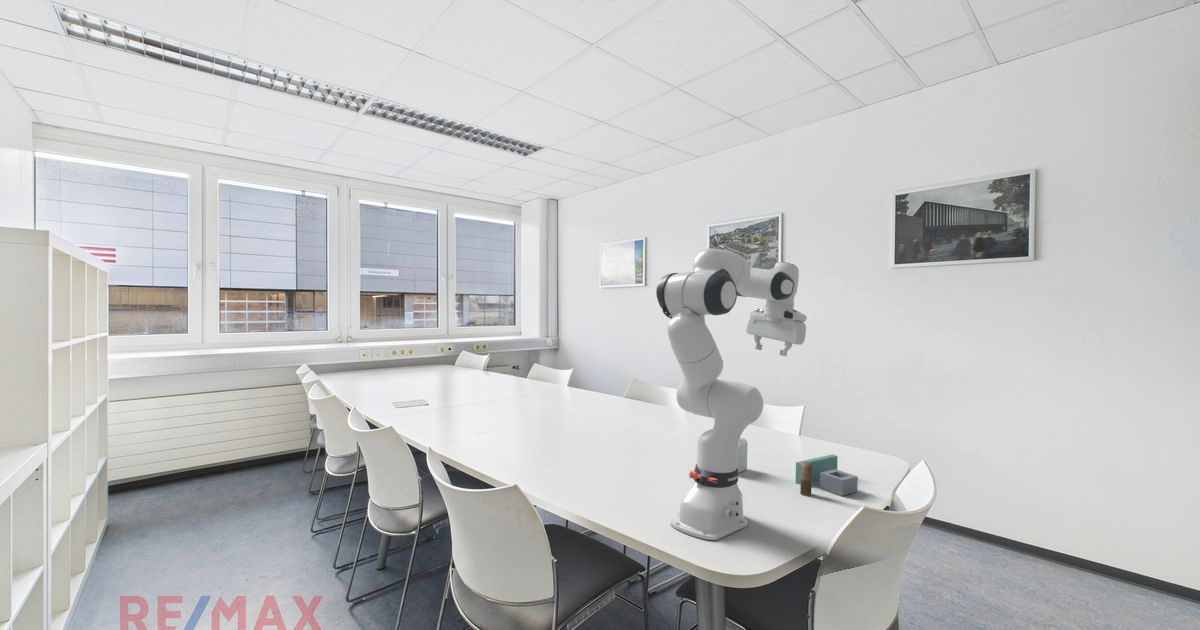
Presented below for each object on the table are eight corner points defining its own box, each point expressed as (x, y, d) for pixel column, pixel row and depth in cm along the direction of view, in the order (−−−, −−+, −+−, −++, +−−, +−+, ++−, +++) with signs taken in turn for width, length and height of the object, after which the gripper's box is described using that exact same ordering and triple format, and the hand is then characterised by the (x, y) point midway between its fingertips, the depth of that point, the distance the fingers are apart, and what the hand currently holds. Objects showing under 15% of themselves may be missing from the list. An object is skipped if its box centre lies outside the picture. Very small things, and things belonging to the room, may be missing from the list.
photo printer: (738, 466, 178) (738, 434, 178) (748, 469, 175) (749, 436, 175) (723, 473, 171) (724, 439, 171) (734, 476, 168) (734, 441, 167)
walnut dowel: (809, 496, 150) (810, 465, 150) (799, 494, 152) (799, 463, 152) (812, 494, 152) (813, 463, 152) (802, 491, 154) (802, 461, 154)
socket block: (857, 491, 154) (857, 476, 154) (842, 496, 150) (842, 480, 150) (834, 483, 161) (835, 469, 161) (819, 487, 157) (820, 472, 157)
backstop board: (837, 475, 170) (837, 456, 170) (800, 484, 160) (800, 464, 160) (832, 473, 172) (832, 454, 172) (795, 482, 162) (795, 462, 162)
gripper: (746, 306, 163) (739, 345, 164) (800, 315, 146) (792, 359, 147) (757, 308, 166) (750, 346, 167) (811, 317, 150) (803, 359, 151)
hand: (770, 352), depth 157 cm, fingers open, 8 cm apart
